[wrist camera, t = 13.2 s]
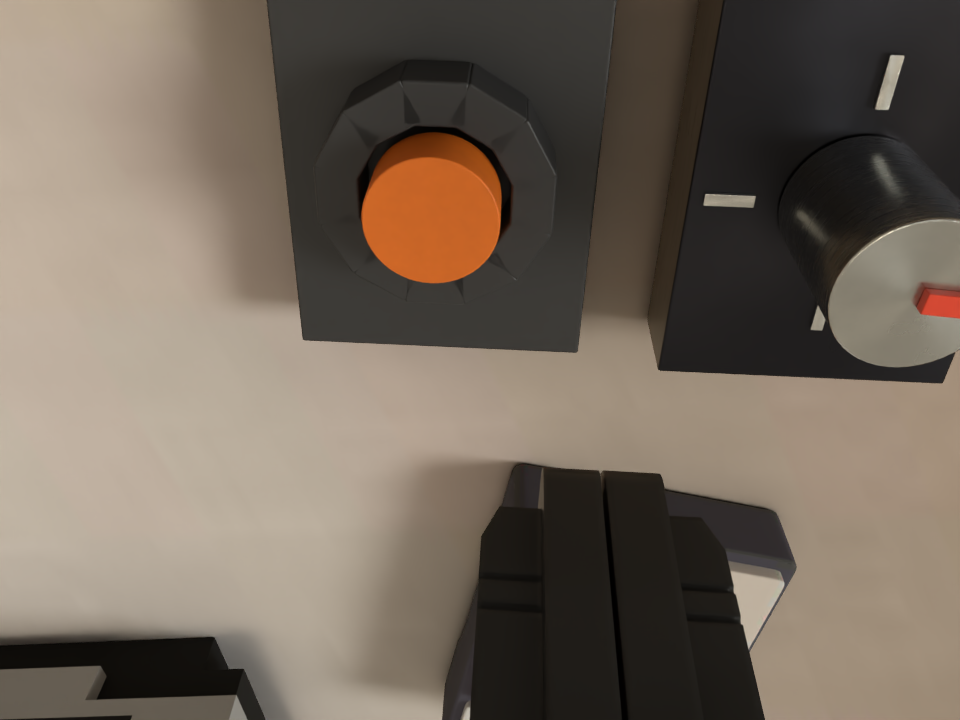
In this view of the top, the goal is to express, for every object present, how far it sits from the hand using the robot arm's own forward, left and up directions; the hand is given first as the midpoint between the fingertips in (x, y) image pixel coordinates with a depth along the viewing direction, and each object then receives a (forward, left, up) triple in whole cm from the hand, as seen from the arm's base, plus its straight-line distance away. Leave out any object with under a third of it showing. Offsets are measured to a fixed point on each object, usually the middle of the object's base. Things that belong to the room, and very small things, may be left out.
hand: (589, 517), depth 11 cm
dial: (+2, +8, -15) cm, 17 cm away
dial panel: (+2, +8, -18) cm, 20 cm away
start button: (+2, -3, -14) cm, 15 cm away
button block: (+2, -3, -18) cm, 18 cm away
